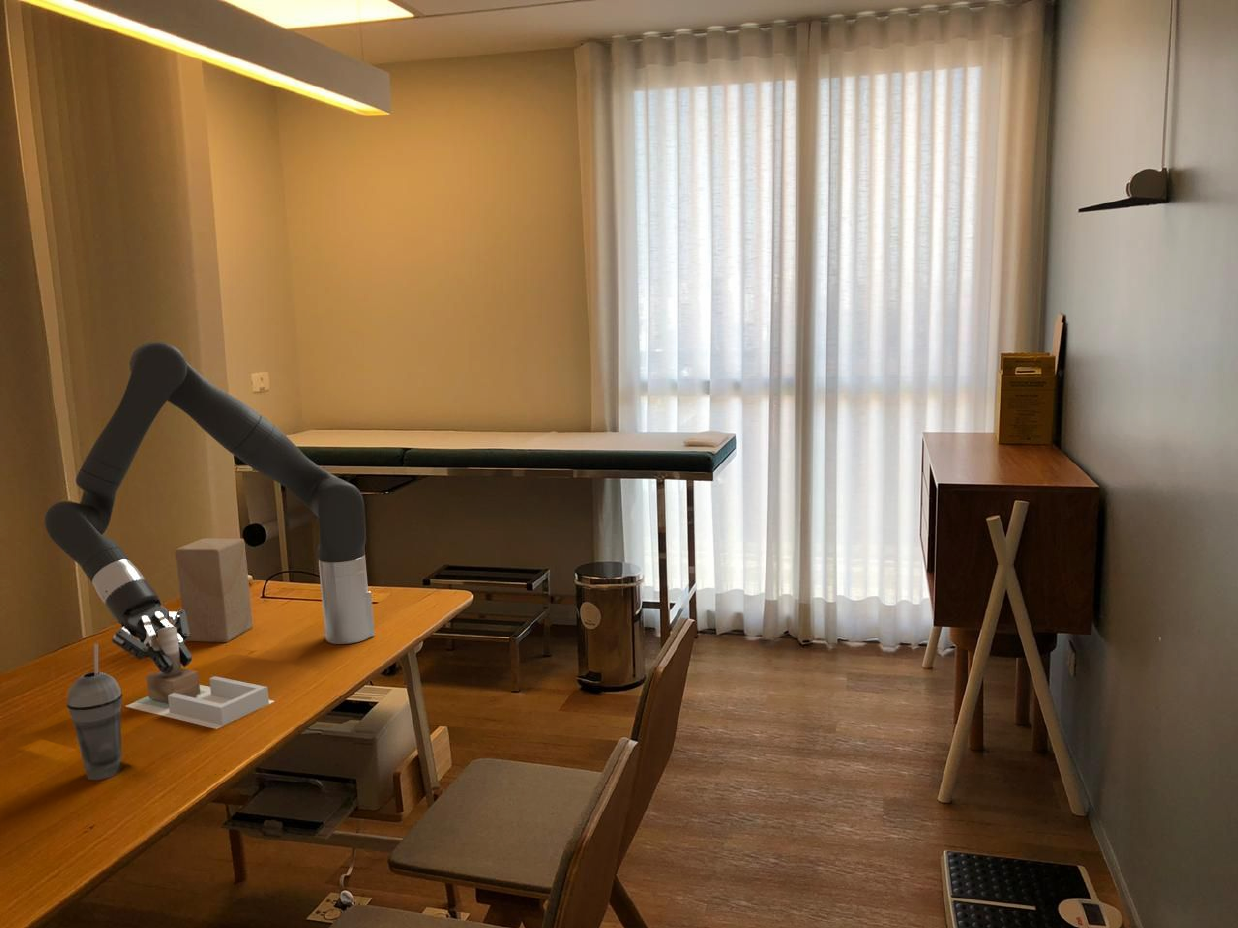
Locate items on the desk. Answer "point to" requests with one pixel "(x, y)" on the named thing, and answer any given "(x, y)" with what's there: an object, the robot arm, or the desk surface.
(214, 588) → the wooden block
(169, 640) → the peg with base
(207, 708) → the docking tray
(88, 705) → the beverage cup
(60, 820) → the desk surface
